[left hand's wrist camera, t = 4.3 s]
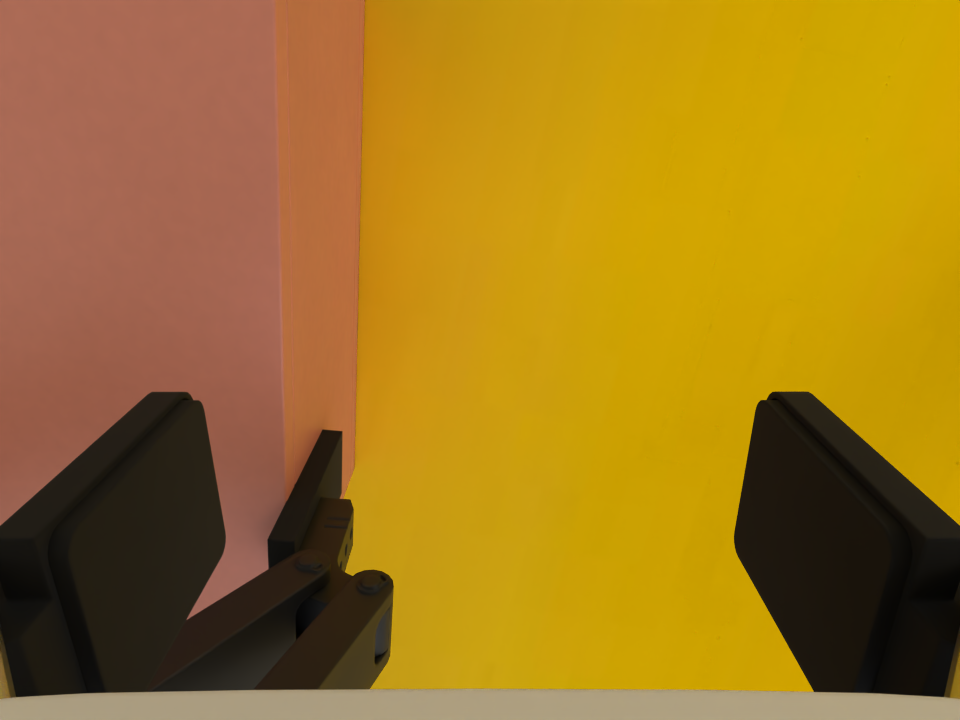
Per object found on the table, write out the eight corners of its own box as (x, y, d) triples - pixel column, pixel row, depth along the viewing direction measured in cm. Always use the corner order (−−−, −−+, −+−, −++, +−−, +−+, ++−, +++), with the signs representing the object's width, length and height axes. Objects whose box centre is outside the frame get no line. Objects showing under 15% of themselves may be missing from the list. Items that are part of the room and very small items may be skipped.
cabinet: (67, -38, 25) (-253, -141, 14) (365, -8, 25) (273, -87, 14) (128, 449, 33) (-49, 621, 22) (354, 468, 33) (290, 647, 22)
